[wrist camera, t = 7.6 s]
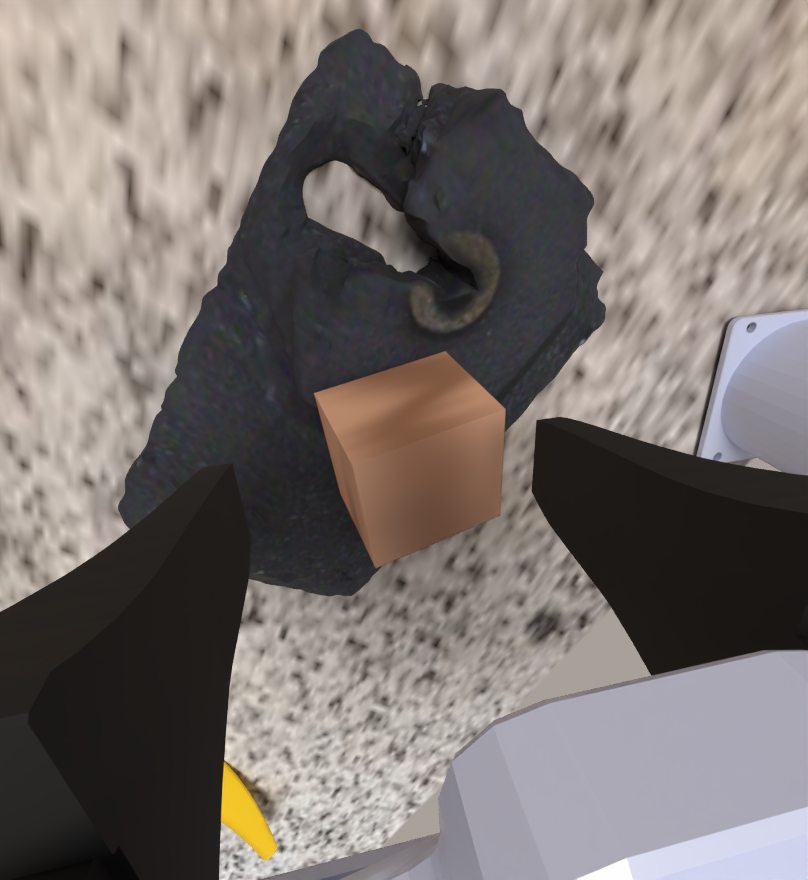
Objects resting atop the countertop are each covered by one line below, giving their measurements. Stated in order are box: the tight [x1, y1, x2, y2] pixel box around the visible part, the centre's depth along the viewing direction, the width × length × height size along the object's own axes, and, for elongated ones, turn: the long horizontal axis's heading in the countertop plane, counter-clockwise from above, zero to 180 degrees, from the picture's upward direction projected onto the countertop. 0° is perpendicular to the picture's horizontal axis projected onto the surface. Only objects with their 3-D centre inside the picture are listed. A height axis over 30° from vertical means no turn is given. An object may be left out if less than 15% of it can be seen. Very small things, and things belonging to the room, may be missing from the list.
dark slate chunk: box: [118, 29, 606, 596], centre depth 20 cm, size 15×22×5 cm
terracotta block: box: [314, 351, 506, 568], centre depth 17 cm, size 5×5×4 cm
